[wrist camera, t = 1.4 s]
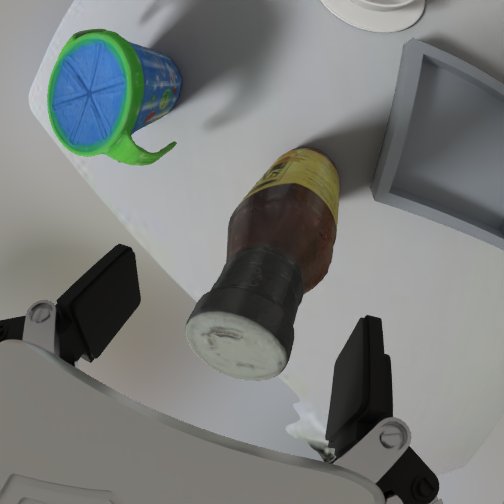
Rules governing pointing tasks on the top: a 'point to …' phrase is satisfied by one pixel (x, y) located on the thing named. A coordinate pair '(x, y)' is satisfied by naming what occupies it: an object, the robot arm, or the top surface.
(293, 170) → the sauce bottle
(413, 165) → the tray
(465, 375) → the top surface
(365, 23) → the teacup
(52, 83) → the snack cup
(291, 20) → the top surface
